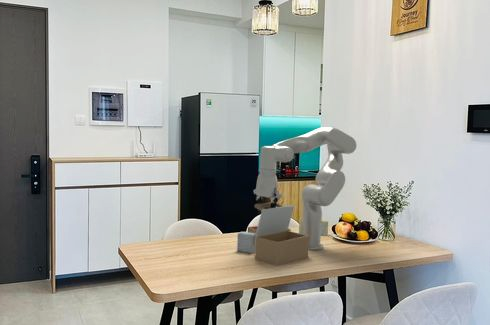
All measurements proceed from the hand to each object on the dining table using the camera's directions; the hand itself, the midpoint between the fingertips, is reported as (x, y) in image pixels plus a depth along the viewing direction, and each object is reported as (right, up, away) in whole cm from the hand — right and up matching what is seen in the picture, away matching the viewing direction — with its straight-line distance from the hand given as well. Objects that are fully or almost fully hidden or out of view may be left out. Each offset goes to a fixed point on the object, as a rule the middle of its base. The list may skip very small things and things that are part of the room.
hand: (266, 209), depth 213 cm
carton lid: (+4, -5, -4) cm, 8 cm away
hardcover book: (+4, -19, +40) cm, 45 cm away
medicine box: (-9, -20, +3) cm, 23 cm away
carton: (+7, -21, -6) cm, 23 cm away
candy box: (+29, -19, +44) cm, 56 cm away
